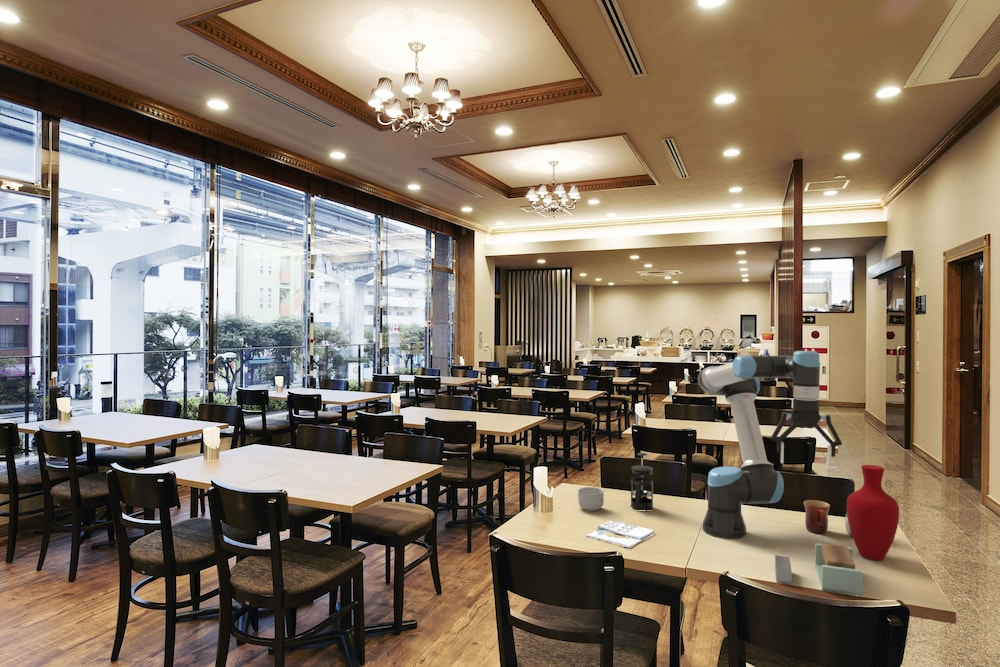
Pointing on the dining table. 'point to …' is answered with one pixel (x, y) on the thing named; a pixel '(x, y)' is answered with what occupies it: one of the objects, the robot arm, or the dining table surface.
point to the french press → (640, 495)
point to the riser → (783, 569)
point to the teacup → (590, 498)
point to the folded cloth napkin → (622, 533)
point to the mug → (816, 516)
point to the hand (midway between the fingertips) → (805, 464)
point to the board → (837, 556)
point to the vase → (872, 515)
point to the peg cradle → (838, 576)
